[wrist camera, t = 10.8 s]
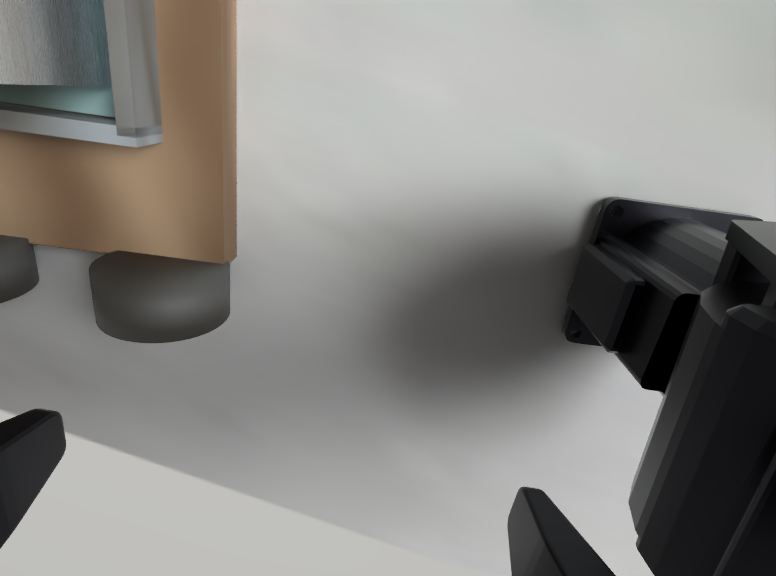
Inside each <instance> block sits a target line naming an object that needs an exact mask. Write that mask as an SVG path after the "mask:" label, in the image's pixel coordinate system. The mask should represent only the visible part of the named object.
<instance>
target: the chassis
mask: <svg viewBox="0 0 776 576" xmlns="http://www.w3.org/2000/svg"><path fill="white" fill-rule="evenodd" d="M103 4H104V14H105V24H106V34H107V43H108V53H109V63H110V73H111V82H112V87H106V86H62V85H17V84H0V303H3V302H6V301H9V300H12V299H14V298H17V297H19V296H21V295H23V294H25V293H27V292H28V291H30V290H31V289H33V288H34V287H35V286H36V285H37V284H38V282H39V275H38V270H37V264H36V259H35V254H34V249H33V244H39V245H47V246H54V247H62V248H70V249H77V250H85V251H93V252H100V253H108V254H106V255H104V256H101V257H100V258H98V259H96V260H95V261H94V262H93V263H92V264H91V265H90V267H89V276H90V283H91V290H92V297H93V304H94V311H95V318H96V324H97V326H98V327H99V328H100V330H102V331H103V332H104V333H106V334H108V335H110V336H112V337H115V338H117V339H121V340H125V341H131V342H139V343H165V342H174V341H181V340H186V339H190V338H194V337H197V336H200V335H203V334H206V333H208V332H210V331H212V330H214V329H216V328H217V327H219V326H220V325H221V324H223V323H224V322H225V321H226V320H227V318H228V316H229V314H230V264H229V263H230V262H231V261H232V260H233V259H234V258H235V257H236V0H103Z"/></svg>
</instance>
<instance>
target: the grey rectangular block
mask: <svg viewBox="0 0 776 576" xmlns="http://www.w3.org/2000/svg"><path fill="white" fill-rule="evenodd" d="M0 84H17V85H62V86H106V87H112V82H111V73H110V63H109V53H108V43H107V34H106V24H105V14H104V4H103V0H0Z"/></svg>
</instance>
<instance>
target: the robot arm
mask: <svg viewBox="0 0 776 576" xmlns="http://www.w3.org/2000/svg"><path fill="white" fill-rule="evenodd" d="M617 205H619V207H620V209H619V212H618V213H617V214H615V215H611V210H612V208H613V207H615V206H617ZM567 302H568V303H569V308H568V311H567V314H566V318H565V321H564V324H563V327H562V332H563V335H564V336H565V338H566V339H567V340H568V341H570V342H573V343H580V344H588V345H596V346H603V348H604V349H605V350H606V351H607V352H612V353H614V354H615V355H616V356H617V357H618V359H619V360H620V361H621V362H622V363H623V365H624V366H625V367H626V368H627V370H628V371H629V372H630V373H631V374H632V376H633V377H634V378H635V379H636V381H637V382H638V383H639V384H640V385H641V387H642V388H644V389H647V390H655V391H659V392H660V393H661V394H662V396H663V399H662V402H661V405H660V408H659V410H658V413H657V416H656V419H655V422H654V424H653V427H652V430H651V433H650V435H649V438H648V441H647V444H646V447H645V449H644V452H643V455H642V458H641V461H640V463H639V466H638V469H637V472H636V474H635V477H634V480H633V484H632V488H631V493H630V497H629V506H630V510H631V514H632V518H633V522H634V526H635V530H636V532H637V534H638V538H637V541H636V546H637V549H638V551H639V552H640V554H641V556H642V557H643V559H644V560H645V562H646V563H647V565H648V567H649V568H650V570H651V571H652V573H653V574H654V575H655V576H776V222H766V221H763V220H762V219H759V218H756V217H753V216H750V215H743V214H736V213H728V212H721V211H714V210H707V209H700V208H692V207H685V206H678V205H671V204H664V203H656V202H649V201H642V200H635V199H628V198H620V197H612V198H610V199H607V200H606V201H605V202H604V203H603V205H602V207H601V209H600V212H599V215H598V218H597V222H596V225H595V228H594V231H593V234H592V237H591V240H590V243H589V244H588V245H587V246H585V247H584V248H583V250H582V253H581V256H580V260H579V263H578V266H577V269H576V272H575V275H574V278H573V282H572V285H571V288H570V291H569V294H568V297H567ZM574 328H579V330H578V331H577V332H576V333H572V334H571V331H572V330H573V329H574ZM65 449H66V440H65V433H64V427H63V420H62V416H61V415H60V413H59V412H57V411H52V410H45V409H33V410H30V411H28V412H25V413H23V414H21V415H18V416H16V417H13V418H11V419H9V420H6V421H3V422H1V423H0V548H1V547H2V546H3V544H4V543H5V542H6V540H7V539H8V538H9V537H10V535H11V534H12V532H13V531H14V530H15V528H16V527H17V525H18V524H19V522H20V521H21V519H22V518H23V516H24V515H25V513H26V512H27V510H28V509H29V507H30V506H31V504H32V503H33V501H34V499H35V498H36V496H37V495H38V493H39V492H40V490H41V489H42V487H43V486H44V484H45V483H46V481H47V480H48V478H49V477H50V475H51V474H52V472H53V470H54V469H55V467H56V466H57V464H58V463H59V461H60V460H61V458H62V456H63V454H64V452H65ZM508 537H509V549H510V560H511V571H512V576H616V575H615V574H614V573H613V572H612V571H611V570H610V568H609V567H608V566H607V565H606V564H605V563H604V561H603V560H602V559H601V558H600V557H599V556H598V554H597V553H596V552H595V551H594V550H593V549H592V547H591V546H590V545H589V544H588V543H587V542H586V540H585V539H584V538H583V537H582V536H581V535H580V533H579V532H578V531H577V530H576V529H575V527H574V526H573V525H572V524H571V523H570V522H569V520H568V519H567V518H566V517H565V516H564V515H563V513H562V512H561V511H560V510H559V509H558V508H557V506H556V505H555V504H554V503H553V502H552V501H551V499H550V498H549V497H548V496H547V495H546V494H545V493H544V492H543V491H542V490H540V489H536V488H530V487H521V488H520V489H519V490H518V492H517V495H516V498H515V500H514V503H513V506H512V508H511V511H510V514H509V517H508Z"/></svg>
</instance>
